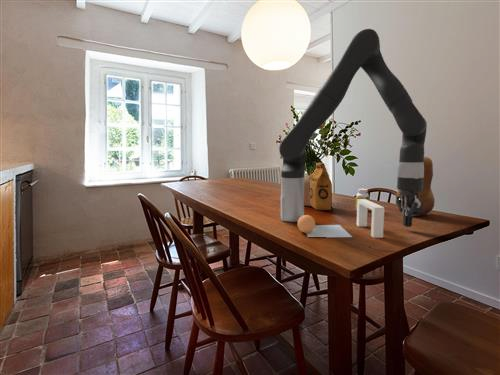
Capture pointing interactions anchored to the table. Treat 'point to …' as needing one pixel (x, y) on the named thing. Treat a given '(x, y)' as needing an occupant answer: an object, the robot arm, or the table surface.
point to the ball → (306, 223)
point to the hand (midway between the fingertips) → (407, 226)
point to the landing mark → (328, 231)
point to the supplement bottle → (362, 195)
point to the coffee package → (320, 188)
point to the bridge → (377, 217)
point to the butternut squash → (425, 189)
